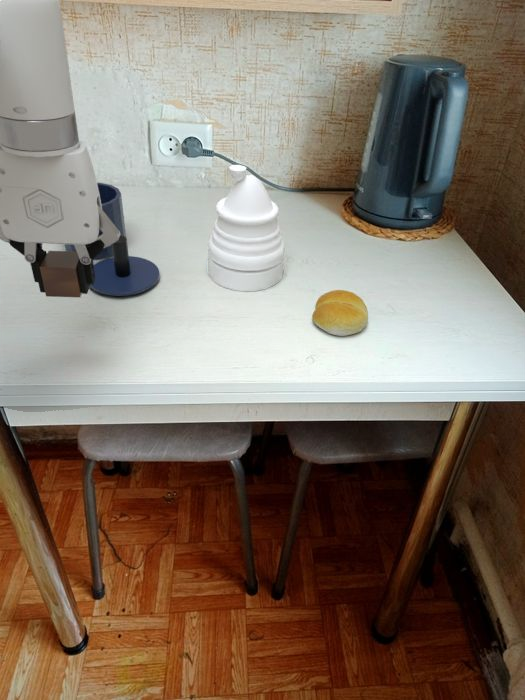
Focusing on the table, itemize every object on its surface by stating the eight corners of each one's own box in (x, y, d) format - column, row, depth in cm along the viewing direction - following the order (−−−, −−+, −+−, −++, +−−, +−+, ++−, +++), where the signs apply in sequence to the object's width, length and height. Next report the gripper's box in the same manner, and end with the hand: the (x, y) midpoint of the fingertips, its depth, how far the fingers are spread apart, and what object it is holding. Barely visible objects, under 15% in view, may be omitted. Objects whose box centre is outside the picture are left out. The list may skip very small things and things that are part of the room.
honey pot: (218, 295, 81) (219, 186, 70) (200, 257, 91) (198, 154, 79) (293, 286, 85) (305, 180, 74) (268, 249, 94) (275, 151, 83)
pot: (72, 271, 84) (62, 218, 78) (59, 229, 95) (48, 180, 89) (136, 261, 88) (130, 209, 82) (116, 222, 99) (110, 174, 93)
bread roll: (308, 332, 75) (311, 310, 73) (317, 300, 82) (321, 279, 80) (364, 343, 74) (369, 321, 72) (368, 310, 81) (373, 288, 78)
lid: (94, 304, 77) (86, 262, 73) (81, 267, 85) (73, 227, 81) (168, 291, 82) (165, 250, 77) (149, 257, 90) (145, 218, 85)
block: (45, 296, 60) (39, 266, 58) (54, 279, 64) (48, 250, 61) (80, 297, 61) (75, 268, 58) (87, 280, 64) (82, 251, 62)
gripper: (-68, 136, 47) (-17, 302, 58) (117, 147, 49) (132, 306, 60) (-36, 114, 53) (5, 269, 64) (128, 125, 55) (140, 274, 66)
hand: (66, 285), depth 62 cm, fingers closed on block, 4 cm apart
